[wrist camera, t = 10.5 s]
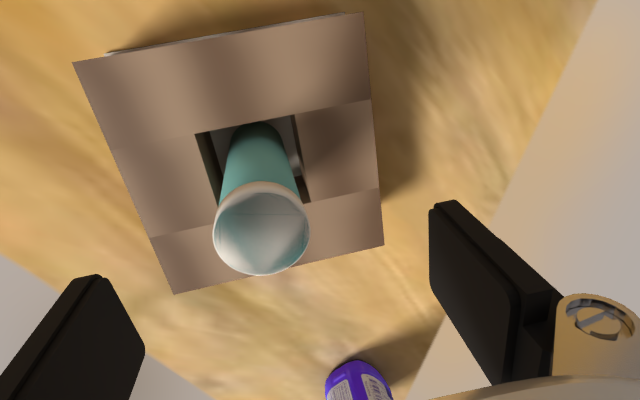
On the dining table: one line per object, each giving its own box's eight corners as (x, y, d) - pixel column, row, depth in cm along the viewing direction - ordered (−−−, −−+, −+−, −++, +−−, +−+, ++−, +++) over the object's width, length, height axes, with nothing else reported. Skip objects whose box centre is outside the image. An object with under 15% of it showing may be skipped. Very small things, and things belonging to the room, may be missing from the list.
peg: (277, 115, 24) (301, 181, 13) (288, 166, 25) (317, 263, 15) (222, 126, 23) (199, 203, 13) (237, 177, 25) (227, 285, 14)
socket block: (343, 12, 22) (366, 6, 18) (366, 213, 28) (387, 246, 24) (105, 53, 21) (65, 58, 16) (184, 254, 27) (171, 297, 23)
